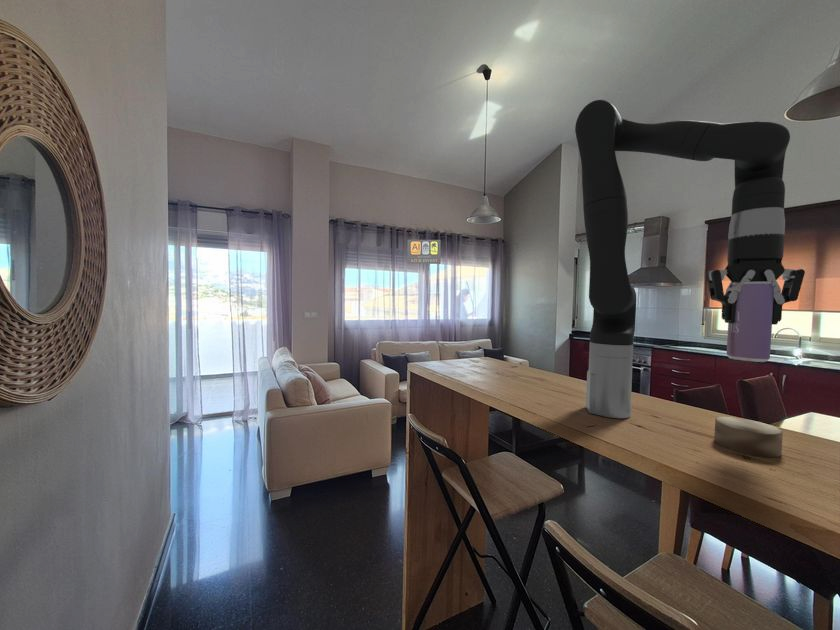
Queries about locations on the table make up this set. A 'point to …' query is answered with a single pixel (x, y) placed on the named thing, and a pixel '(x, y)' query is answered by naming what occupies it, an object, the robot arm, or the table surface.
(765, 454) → the plinth
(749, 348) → the beverage can
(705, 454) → the table surface
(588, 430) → the table surface
